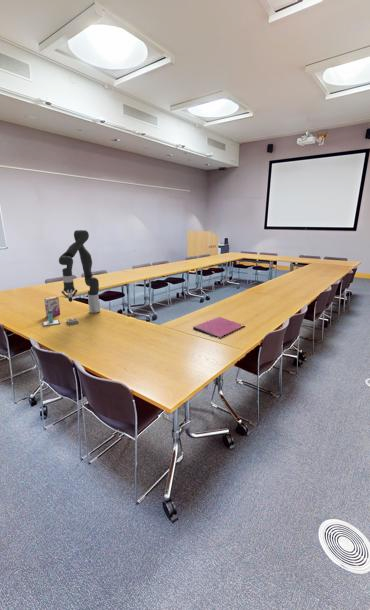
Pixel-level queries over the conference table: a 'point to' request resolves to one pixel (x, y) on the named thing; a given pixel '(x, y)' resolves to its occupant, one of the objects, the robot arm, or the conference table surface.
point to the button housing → (72, 321)
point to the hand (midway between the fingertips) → (70, 301)
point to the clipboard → (51, 323)
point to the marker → (50, 316)
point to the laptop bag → (217, 327)
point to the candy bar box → (52, 305)
